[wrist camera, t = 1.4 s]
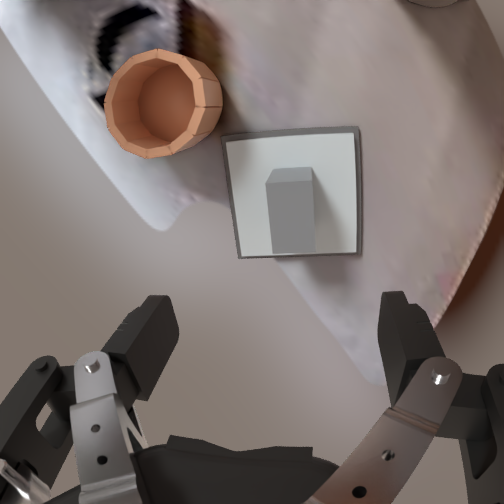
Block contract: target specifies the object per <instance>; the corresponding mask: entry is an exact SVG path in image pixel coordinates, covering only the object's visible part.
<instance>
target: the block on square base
mask: <svg viewBox="0 0 504 504" xmlns="http://www.w3.org/2000/svg"><path fill="white" fill-rule="evenodd" d="M226 148H227V155H228V162H229V170H230V177H231V184H232V191H233V199H234V206H235V213H236V220H237V227H238V234H239V241H240V248H241V255H242V256H268V255H296V254H323V253H349V252H356V235H357V211H356V169H355V148H354V133H332V134H310V135H294V136H280V137H268V138H257V139H247V140H238V141H229V142H226Z"/></svg>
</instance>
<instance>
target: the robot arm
mask: <svg viewBox="0 0 504 504" xmlns="http://www.w3.org/2000/svg"><path fill="white" fill-rule="evenodd" d="M409 1H411V2H413V3H416V4H420V5H423V6H428V7H445V6H448V5H451V4H453V3H455V2H456V1H458V0H409ZM178 338H179V327H178V324H177V320H176V317H175V313H174V310H173V306H172V303H171V299H170V298H169V296H167V295H150V296H148V297H147V299H146V300H145V301H144V303H143V304H142V305H141V306H140V307H137V308H136V309H135V310H133V311H132V312H130V313H129V314H128V315H127V317H126V318H125V319H124V320H123V322H122V324H120V326H119V327H118V328H117V330H116V331H115V332H114V333H113V335H112V336H111V338H110V339H109V340H108V342H107V343H106V344H105V346H104V347H103V348H102V350H101V351H94V352H90V353H87V354H85V355H84V356H82V357H81V358H79V360H77V362H76V363H75V365H74V366H62V367H60V365H59V363H58V362H57V360H56V358H55V357H53V356H43V357H40V358H38V359H36V360H35V361H34V362H32V363H31V365H30V366H29V367H28V368H27V370H26V371H25V372H24V373H23V375H22V376H21V377H20V379H19V380H18V381H17V383H16V384H15V385H14V387H13V388H12V389H11V391H10V392H9V394H8V395H7V396H6V398H5V399H4V401H3V402H2V403H1V405H0V504H391V503H392V502H393V501H394V499H395V498H396V496H397V495H398V494H399V492H400V491H401V489H402V488H403V486H404V485H405V483H406V482H407V481H408V479H409V478H410V476H411V474H412V473H413V471H414V470H415V468H416V467H417V465H418V463H419V462H420V460H421V459H422V457H423V455H424V454H425V452H426V450H427V449H428V447H429V445H430V443H431V442H432V440H433V438H434V436H436V437H444V438H453V439H459V444H460V450H461V455H462V460H463V467H464V472H465V479H466V486H467V495H468V503H469V504H504V364H498V365H495V366H493V367H492V368H491V369H490V370H489V371H488V374H487V375H486V376H481V375H472V374H465V373H462V370H461V368H460V366H459V365H458V364H457V363H456V362H454V361H453V360H451V359H449V358H446V356H445V354H444V352H443V349H442V347H441V345H440V343H439V340H438V338H437V336H436V333H435V331H433V327H432V324H431V323H430V320H429V318H428V316H427V314H426V311H424V310H423V309H422V308H421V307H420V306H419V305H417V304H409V303H408V301H407V299H406V296H405V294H404V292H403V291H391V292H383V293H382V296H381V305H380V313H379V321H378V344H379V348H380V353H381V357H382V362H383V366H384V371H385V376H386V381H387V386H388V391H389V397H390V402H391V408H390V407H389V408H388V409H387V410H386V411H385V412H384V413H383V414H382V416H381V417H380V418H379V420H378V421H377V422H376V424H375V425H374V426H373V427H372V429H371V430H370V431H369V433H368V434H367V435H366V436H365V438H364V439H363V440H362V441H361V442H360V444H359V445H358V446H357V447H356V448H355V450H354V451H353V452H352V453H351V455H349V457H348V458H347V459H346V460H345V461H344V462H343V464H342V465H341V466H338V465H336V464H334V463H332V462H330V461H327V460H324V459H321V458H317V457H313V456H312V450H313V447H281V446H279V447H278V446H275V447H269V448H262V449H255V450H247V451H232V450H229V449H226V448H223V447H220V446H217V445H215V444H212V443H208V442H206V441H204V440H199V439H192V438H186V437H179V436H174V435H170V437H169V439H168V442H167V444H162V445H155V446H152V447H149V446H148V444H147V442H146V439H145V436H144V433H143V430H142V427H141V424H140V421H139V418H138V415H137V412H136V409H135V407H134V405H133V403H134V401H135V400H136V399H138V400H144V401H148V399H149V397H150V395H151V393H152V391H153V389H154V387H155V385H156V383H157V381H158V379H159V377H160V375H161V373H162V371H163V369H164V367H165V365H166V363H167V362H168V360H169V358H170V355H171V354H172V352H173V350H174V348H175V346H176V344H177V342H178ZM46 403H47V405H48V406H49V407H50V408H51V410H52V412H51V414H50V415H49V417H48V419H47V420H46V422H45V424H44V425H43V427H42V429H41V430H40V432H39V431H38V429H37V427H36V418H37V416H38V414H39V413H40V411H41V410H42V408H43V406H44V405H45V404H46ZM73 443H74V450H75V457H76V463H77V469H78V474H79V480H80V485H78V486H76V487H74V488H72V489H70V490H68V491H67V492H64V493H63V494H61V495H59V496H57V497H55V498H53V499H50V497H51V494H50V490H51V488H52V486H53V484H54V481H55V479H56V477H57V475H58V473H59V471H60V469H61V467H62V465H63V463H64V461H65V459H66V457H67V455H68V453H69V451H70V449H71V447H72V445H73Z"/></svg>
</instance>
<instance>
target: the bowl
mask: <svg viewBox="0 0 504 504" xmlns="http://www.w3.org/2000/svg"><path fill="white" fill-rule="evenodd" d="M104 102H106V103H104V108H105V115H106V121H107V128H109V129H108V130H109V131H110V133H111V134H112V135H113V137H114V138H115V139H116V141H117V142H118V143H119V145H120V146H121V147H122V149H123V148H124V150H126V151H128V152H130V153H133V154H135V155H138V156H140V157H143V158H145V159H146V158H147V159H149V158H155V157H161V156H167V155H172V154H175V153H177V152H180V151H182V150H185V149H187V148H190V147H192V146H195V145H196V144H197V143H198V142H200V141H201V140H203V139H204V138H205V137H206V136H207V135H209V134H210V133H211V132H212V130H214V127H215V126H216V124H217V122H218V120H219V118H220V115H221V112H222V107H223V94H222V89H221V86H220V83H219V80H218V79H217V77H216V76H215V75H214V73H213V72H212V71H211V70H210V69H209V68H208V67H207V66H206V65H205V64H204V63H203V62H200V61H197V60H194V59H192V58H189V57H186V56H183V55H180V54H177V53H173V52H170V51H166V50H162V49H154V50H150V51H147V52H144V53H140V54H137V55H134V56H132V57H130V58H129V59H128V60H127V61H126V62H125V63H124V64H123V65H122V66H121V67H120V68H119V70H118V71H117V72H116V73H115V74H114V75H113V77H112V78H111V81H110V84H109V87H108V90H107V93H106V97H105V100H104Z"/></svg>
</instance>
